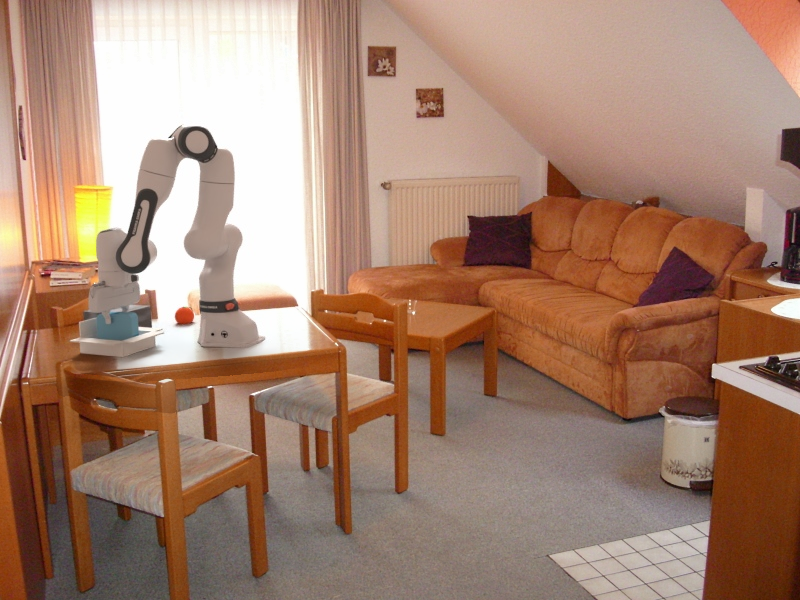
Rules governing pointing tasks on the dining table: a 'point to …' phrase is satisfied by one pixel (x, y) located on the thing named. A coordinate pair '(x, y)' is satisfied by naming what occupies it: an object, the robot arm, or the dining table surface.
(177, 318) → the clementine
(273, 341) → the dining table surface
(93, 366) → the dining table surface
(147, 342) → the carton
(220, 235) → the robot arm
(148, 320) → the riser
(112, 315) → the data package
